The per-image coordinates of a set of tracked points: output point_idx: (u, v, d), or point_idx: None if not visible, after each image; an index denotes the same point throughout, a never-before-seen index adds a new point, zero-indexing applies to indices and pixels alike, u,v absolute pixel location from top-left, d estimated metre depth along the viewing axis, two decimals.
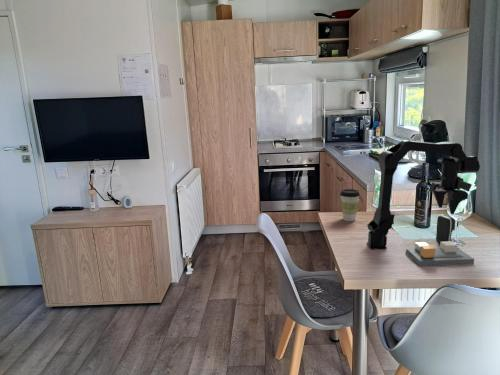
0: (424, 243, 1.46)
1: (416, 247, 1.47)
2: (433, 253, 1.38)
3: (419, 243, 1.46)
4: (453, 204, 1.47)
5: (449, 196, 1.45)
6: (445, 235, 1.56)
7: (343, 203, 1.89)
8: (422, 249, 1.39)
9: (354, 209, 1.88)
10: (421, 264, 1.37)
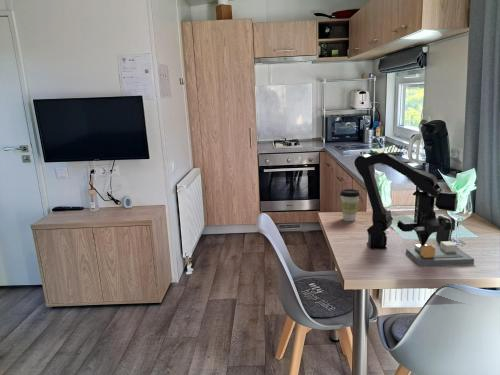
0: None
1: (416, 249, 1.47)
2: (433, 253, 1.38)
3: (419, 245, 1.46)
4: (419, 235, 1.45)
5: None
6: (445, 235, 1.56)
7: (343, 203, 1.89)
8: (422, 249, 1.39)
9: (354, 209, 1.88)
10: (421, 264, 1.37)
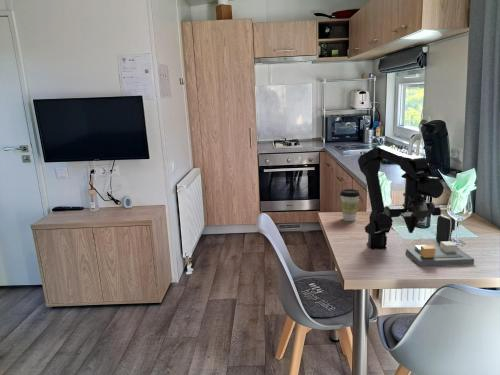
0: None
1: None
2: (433, 253, 1.38)
3: (419, 246, 1.46)
4: (406, 221, 1.37)
5: None
6: (445, 235, 1.56)
7: (343, 203, 1.89)
8: (422, 249, 1.39)
9: (354, 209, 1.88)
10: (421, 264, 1.37)
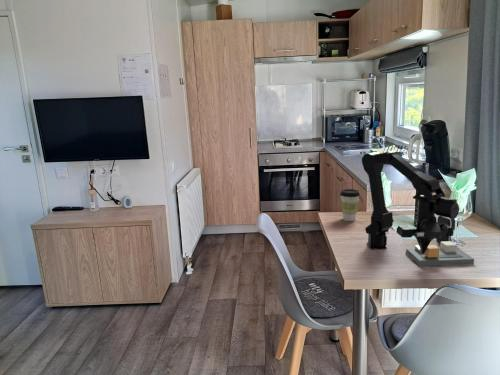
0: None
1: None
2: (437, 253, 1.38)
3: None
4: (419, 241, 1.39)
5: None
6: None
7: (343, 203, 1.89)
8: (426, 249, 1.39)
9: (354, 209, 1.88)
10: (421, 264, 1.37)
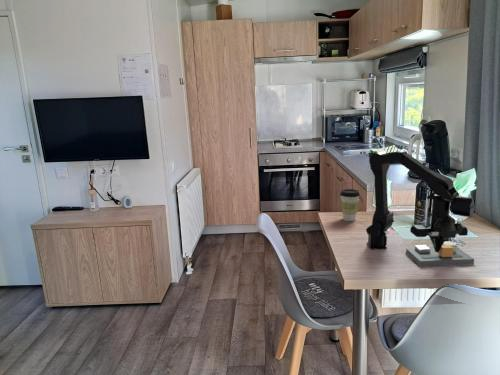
0: (424, 246, 1.46)
1: None
2: (451, 252, 1.38)
3: (419, 246, 1.46)
4: (433, 240, 1.39)
5: None
6: None
7: (343, 203, 1.89)
8: (440, 248, 1.40)
9: (354, 209, 1.88)
10: (421, 264, 1.37)
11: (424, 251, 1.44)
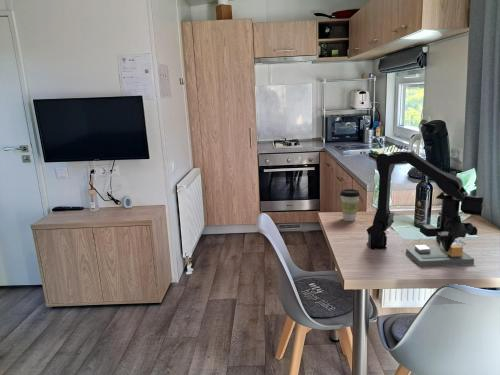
0: (424, 246, 1.46)
1: None
2: (460, 252, 1.38)
3: (419, 246, 1.46)
4: (442, 240, 1.39)
5: None
6: None
7: (343, 203, 1.89)
8: None
9: (354, 209, 1.88)
10: (421, 264, 1.37)
11: (424, 251, 1.44)
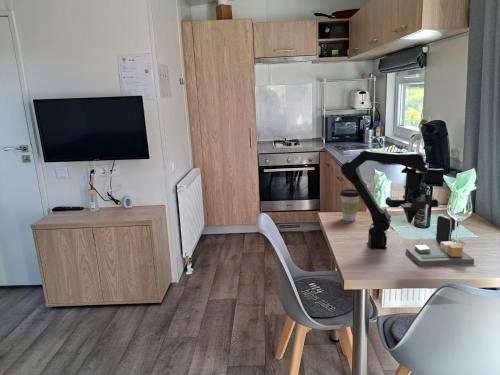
0: (424, 246, 1.46)
1: None
2: (461, 252, 1.38)
3: (419, 246, 1.46)
4: (406, 211, 1.49)
5: None
6: (445, 235, 1.56)
7: (343, 203, 1.89)
8: (449, 248, 1.40)
9: (354, 209, 1.88)
10: (421, 264, 1.37)
11: (424, 251, 1.44)
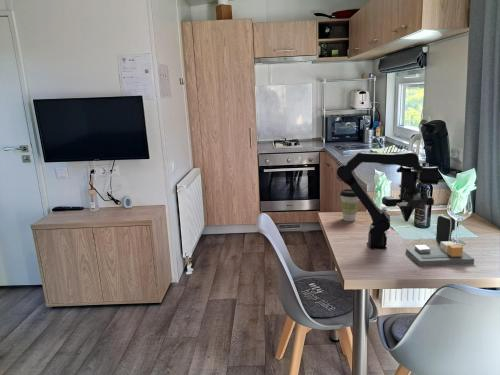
0: (424, 246, 1.46)
1: None
2: (461, 252, 1.38)
3: (419, 246, 1.46)
4: (402, 210, 1.50)
5: None
6: (445, 235, 1.56)
7: (343, 203, 1.89)
8: (449, 248, 1.40)
9: (354, 209, 1.88)
10: (421, 264, 1.37)
11: (424, 251, 1.44)
